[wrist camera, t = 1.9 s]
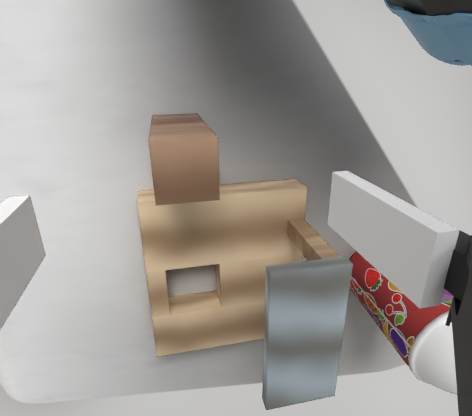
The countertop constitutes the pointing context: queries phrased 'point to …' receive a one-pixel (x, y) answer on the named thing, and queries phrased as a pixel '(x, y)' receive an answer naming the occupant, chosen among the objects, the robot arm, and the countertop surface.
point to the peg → (183, 159)
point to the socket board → (251, 283)
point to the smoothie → (409, 325)
